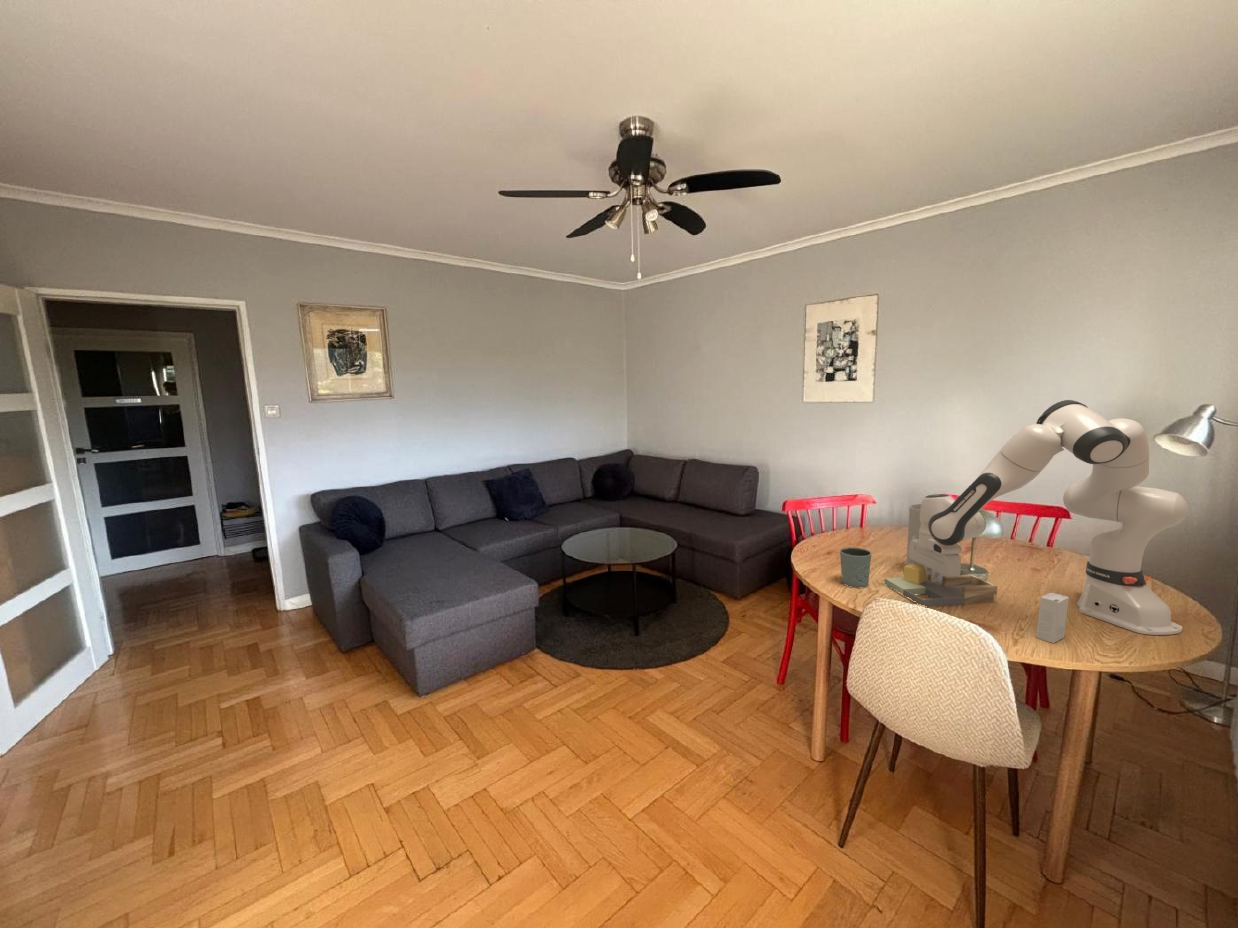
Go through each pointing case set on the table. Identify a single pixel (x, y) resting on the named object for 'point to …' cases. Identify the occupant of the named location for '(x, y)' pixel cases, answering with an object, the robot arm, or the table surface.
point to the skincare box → (1052, 617)
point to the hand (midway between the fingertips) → (931, 580)
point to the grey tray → (930, 592)
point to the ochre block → (914, 573)
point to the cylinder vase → (913, 528)
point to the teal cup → (855, 566)
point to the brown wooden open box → (973, 588)
